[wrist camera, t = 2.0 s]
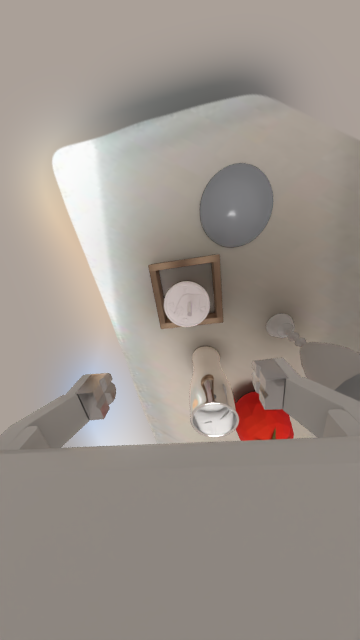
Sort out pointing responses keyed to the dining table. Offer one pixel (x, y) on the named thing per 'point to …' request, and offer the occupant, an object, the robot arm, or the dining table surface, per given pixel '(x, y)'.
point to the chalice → (322, 359)
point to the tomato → (261, 420)
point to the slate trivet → (236, 205)
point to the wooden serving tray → (154, 268)
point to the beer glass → (211, 396)
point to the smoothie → (186, 304)
